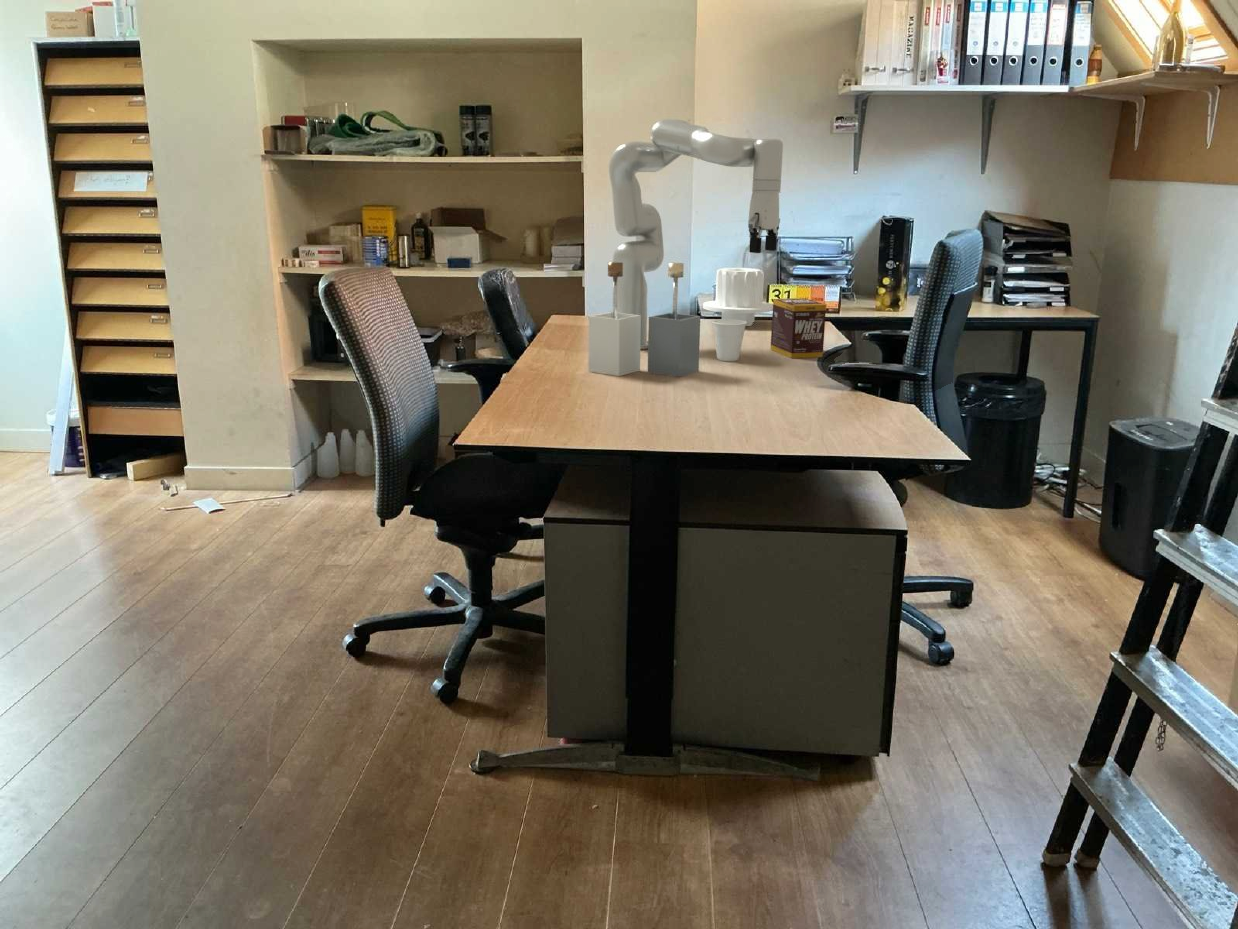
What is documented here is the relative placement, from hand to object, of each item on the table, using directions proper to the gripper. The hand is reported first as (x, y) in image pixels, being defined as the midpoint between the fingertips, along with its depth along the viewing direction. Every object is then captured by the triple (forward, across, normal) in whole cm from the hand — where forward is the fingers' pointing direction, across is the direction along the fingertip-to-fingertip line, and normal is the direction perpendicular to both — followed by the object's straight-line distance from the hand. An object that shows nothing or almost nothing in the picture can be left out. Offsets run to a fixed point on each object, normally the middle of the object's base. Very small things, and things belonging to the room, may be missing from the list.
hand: (762, 251), depth 282 cm
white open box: (+32, +32, -27) cm, 52 cm away
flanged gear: (+32, -64, -39) cm, 82 cm away
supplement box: (+32, -23, +2) cm, 39 cm away
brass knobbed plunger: (+22, +24, -14) cm, 35 cm away
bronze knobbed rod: (+22, +32, -27) cm, 47 cm away
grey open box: (+31, +24, -14) cm, 42 cm away
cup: (+32, -1, -10) cm, 33 cm away
